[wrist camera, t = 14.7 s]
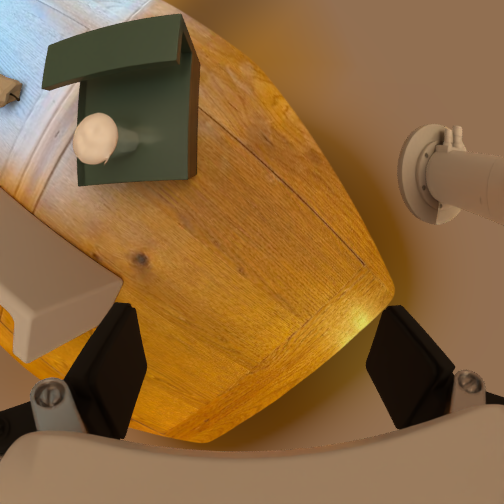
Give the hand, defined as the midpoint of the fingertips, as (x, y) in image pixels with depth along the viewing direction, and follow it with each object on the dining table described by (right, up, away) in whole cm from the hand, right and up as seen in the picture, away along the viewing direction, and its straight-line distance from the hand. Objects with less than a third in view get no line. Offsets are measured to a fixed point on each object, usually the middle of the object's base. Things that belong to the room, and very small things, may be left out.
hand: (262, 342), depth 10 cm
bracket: (-39, +5, +28) cm, 48 cm away
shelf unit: (-15, +21, +24) cm, 35 cm away
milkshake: (-14, +15, +18) cm, 27 cm away
